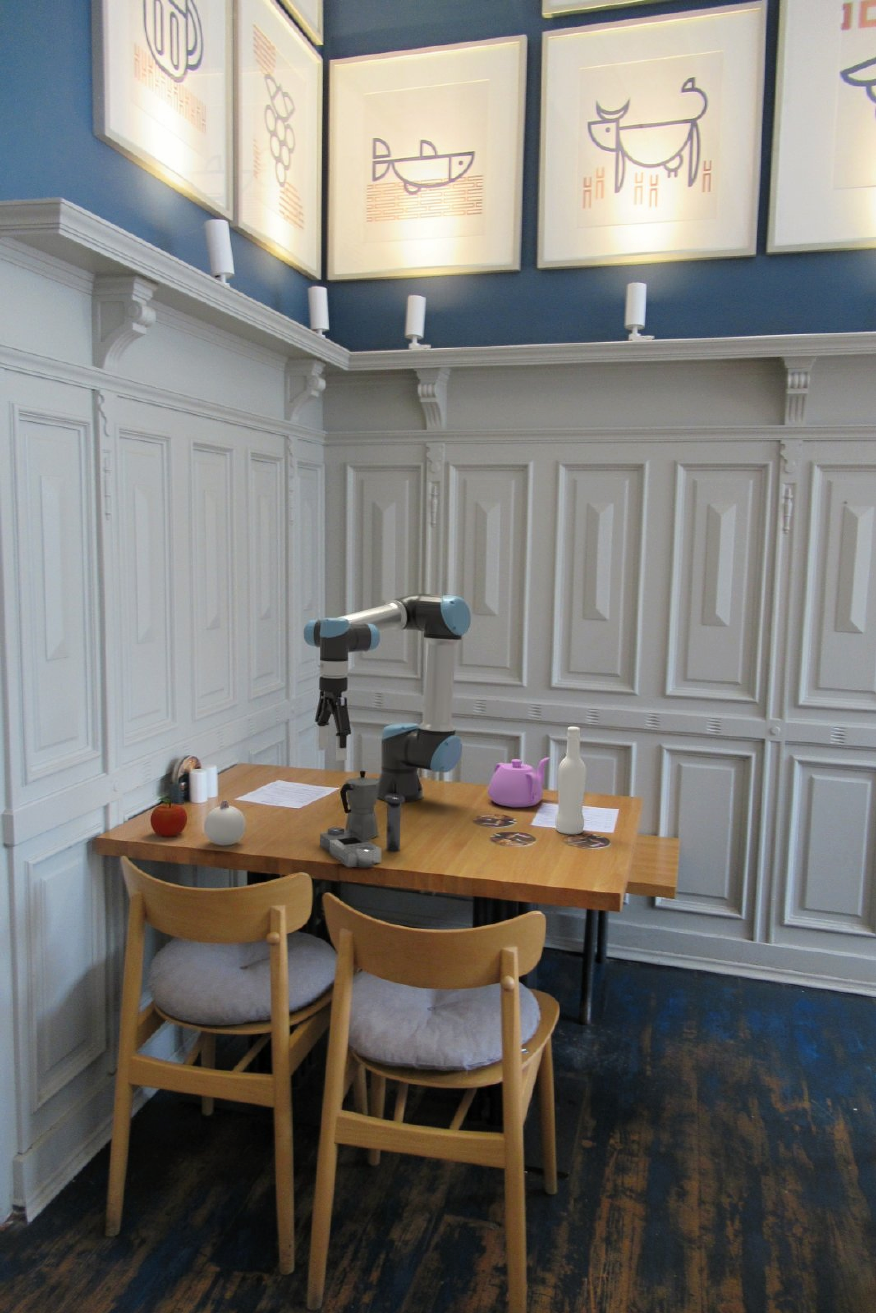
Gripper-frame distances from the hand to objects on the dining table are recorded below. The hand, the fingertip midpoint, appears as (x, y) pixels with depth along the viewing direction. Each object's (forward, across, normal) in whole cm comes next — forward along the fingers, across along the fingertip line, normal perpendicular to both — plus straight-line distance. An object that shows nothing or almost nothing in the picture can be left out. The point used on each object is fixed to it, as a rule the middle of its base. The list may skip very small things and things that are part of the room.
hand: (331, 754), depth 255 cm
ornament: (+23, -5, -27) cm, 36 cm away
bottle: (+23, +19, +65) cm, 72 cm away
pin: (+23, +15, +12) cm, 30 cm away
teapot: (+23, -13, +69) cm, 74 cm away
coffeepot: (+23, +1, +8) cm, 24 cm away
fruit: (+23, -19, -39) cm, 49 cm away
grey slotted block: (+23, +15, 0) cm, 27 cm away
